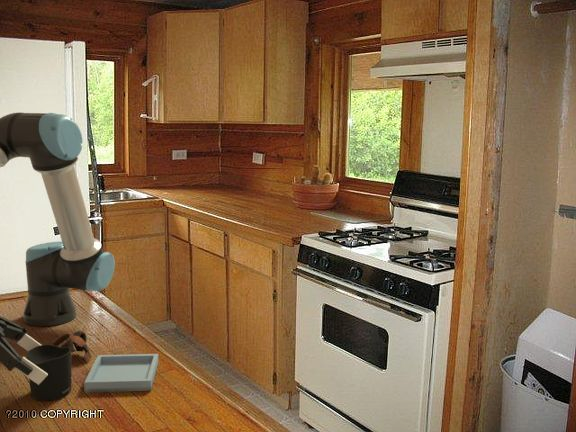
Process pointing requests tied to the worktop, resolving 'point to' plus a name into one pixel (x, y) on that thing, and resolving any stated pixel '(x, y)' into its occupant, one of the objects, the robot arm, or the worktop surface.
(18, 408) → the worktop surface
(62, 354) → the pen holder
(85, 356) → the brown hollow rounded piece
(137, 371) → the tray
